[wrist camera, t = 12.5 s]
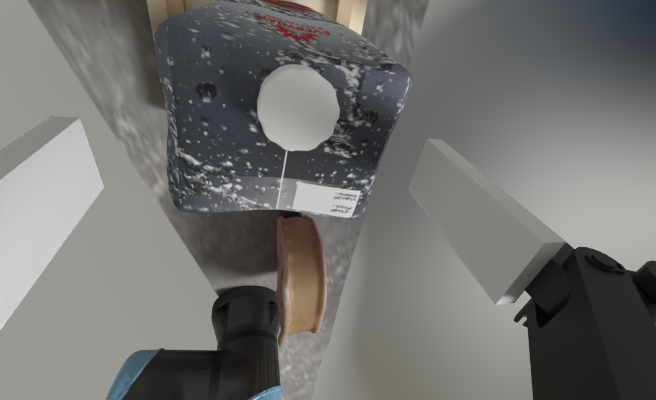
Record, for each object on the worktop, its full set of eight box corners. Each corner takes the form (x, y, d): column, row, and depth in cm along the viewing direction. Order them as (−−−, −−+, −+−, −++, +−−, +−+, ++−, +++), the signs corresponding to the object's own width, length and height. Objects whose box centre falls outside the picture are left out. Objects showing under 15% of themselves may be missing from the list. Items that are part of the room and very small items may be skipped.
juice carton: (305, 91, 36) (379, 250, 15) (215, 75, 33) (149, 247, 12) (320, 7, 31) (462, 70, 10) (216, -21, 28) (103, -15, 7)
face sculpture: (272, 200, 49) (279, 281, 36) (312, 199, 50) (333, 275, 37) (273, 276, 60) (278, 358, 48) (305, 273, 62) (319, 351, 49)
